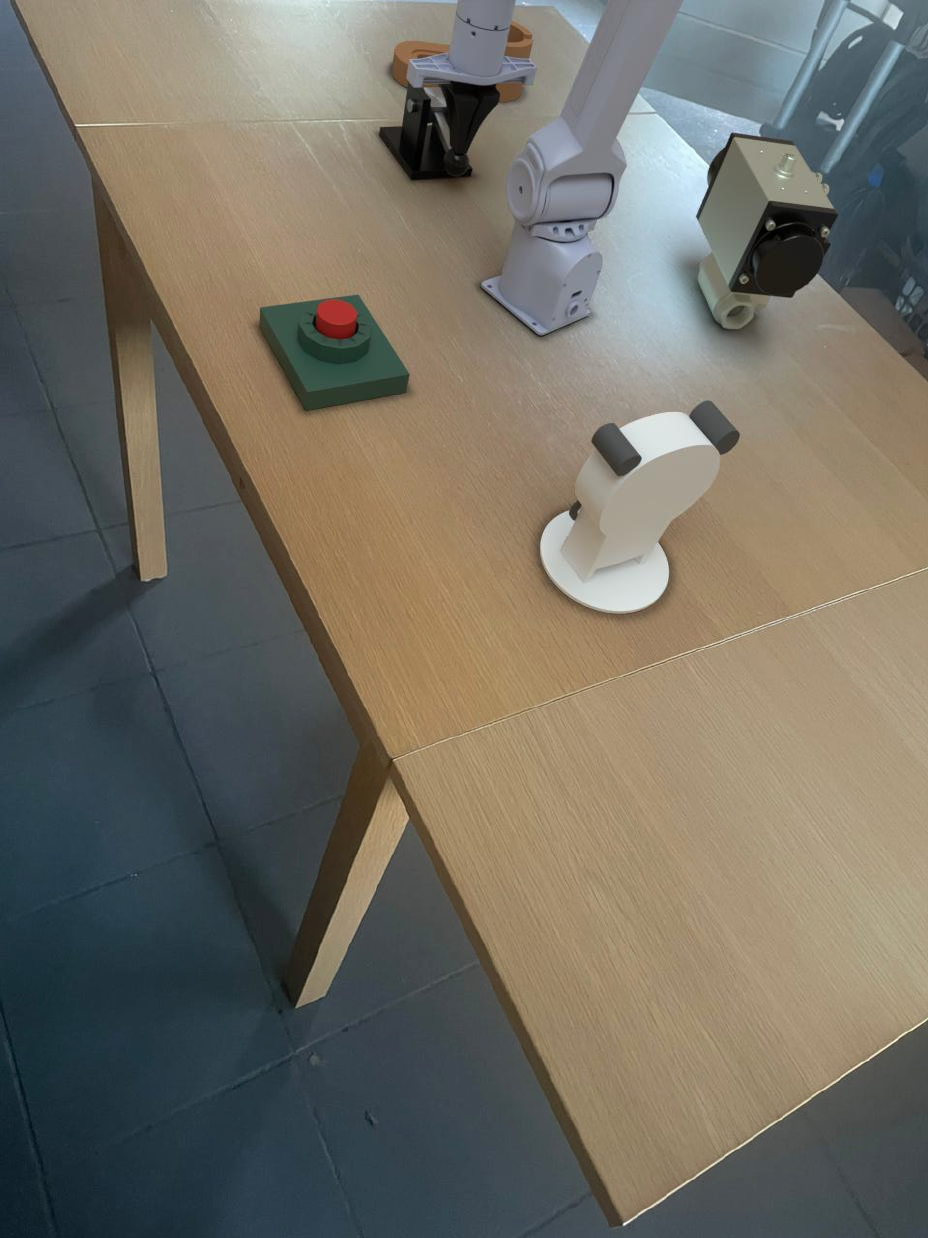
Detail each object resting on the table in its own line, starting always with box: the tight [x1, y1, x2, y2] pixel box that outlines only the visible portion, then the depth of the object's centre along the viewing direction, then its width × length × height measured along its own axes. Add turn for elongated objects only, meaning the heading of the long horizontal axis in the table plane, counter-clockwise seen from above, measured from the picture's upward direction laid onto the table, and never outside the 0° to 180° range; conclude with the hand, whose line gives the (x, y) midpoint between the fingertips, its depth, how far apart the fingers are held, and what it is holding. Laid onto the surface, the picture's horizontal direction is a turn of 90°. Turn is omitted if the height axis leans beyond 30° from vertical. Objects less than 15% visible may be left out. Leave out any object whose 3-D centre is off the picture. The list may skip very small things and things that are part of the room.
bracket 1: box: [391, 20, 534, 103], centre depth 122 cm, size 18×8×7 cm, turn 101°
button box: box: [259, 294, 410, 411], centre depth 85 cm, size 12×10×4 cm
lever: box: [423, 87, 470, 176], centre depth 106 cm, size 11×3×3 cm, turn 26°
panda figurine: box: [539, 399, 741, 615], centre depth 73 cm, size 12×11×15 cm
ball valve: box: [695, 132, 839, 330], centre depth 98 cm, size 18×8×18 cm, turn 7°
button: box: [316, 300, 357, 340], centre depth 83 cm, size 4×4×2 cm
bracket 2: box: [378, 81, 474, 181], centre depth 109 cm, size 10×8×8 cm
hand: (458, 148), depth 104 cm, fingers closed, pressing on lever
